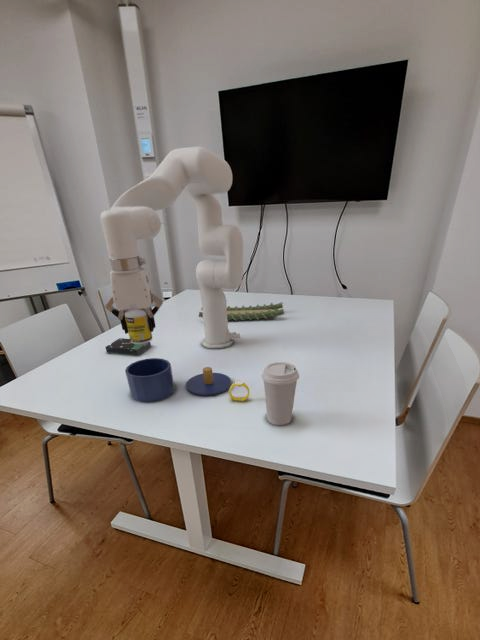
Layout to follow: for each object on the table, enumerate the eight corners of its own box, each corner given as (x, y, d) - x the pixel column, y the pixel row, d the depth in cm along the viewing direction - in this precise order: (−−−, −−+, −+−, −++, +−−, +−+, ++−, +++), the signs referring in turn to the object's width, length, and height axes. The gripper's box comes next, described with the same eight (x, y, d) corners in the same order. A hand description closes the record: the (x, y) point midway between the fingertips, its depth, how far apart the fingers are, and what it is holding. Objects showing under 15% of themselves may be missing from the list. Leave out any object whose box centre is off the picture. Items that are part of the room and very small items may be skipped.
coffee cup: (287, 432, 92) (289, 380, 84) (255, 422, 97) (254, 372, 88) (302, 414, 99) (305, 364, 90) (272, 406, 103) (272, 358, 95)
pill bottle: (126, 343, 104) (116, 303, 97) (139, 336, 109) (130, 296, 102) (144, 345, 101) (136, 304, 95) (157, 338, 106) (149, 298, 100)
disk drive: (106, 353, 143) (138, 356, 139) (104, 347, 141) (137, 349, 137) (120, 344, 151) (151, 346, 147) (119, 337, 149) (150, 339, 145)
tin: (175, 380, 120) (171, 356, 115) (172, 400, 109) (168, 375, 104) (135, 383, 119) (129, 359, 115) (128, 403, 108) (121, 378, 103)
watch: (229, 402, 106) (227, 384, 103) (230, 397, 109) (228, 380, 105) (249, 402, 106) (248, 384, 102) (249, 397, 108) (249, 380, 105)
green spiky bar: (282, 311, 178) (282, 301, 176) (284, 320, 166) (284, 309, 164) (202, 314, 181) (201, 304, 178) (198, 323, 169) (197, 312, 166)
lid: (229, 374, 122) (228, 357, 119) (233, 394, 110) (231, 377, 107) (187, 377, 121) (185, 361, 118) (185, 398, 109) (183, 381, 106)
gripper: (160, 260, 97) (170, 324, 107) (96, 264, 96) (112, 329, 106) (157, 265, 91) (168, 333, 101) (88, 269, 90) (106, 337, 100)
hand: (139, 330), depth 103 cm, fingers closed on pill bottle, 6 cm apart
